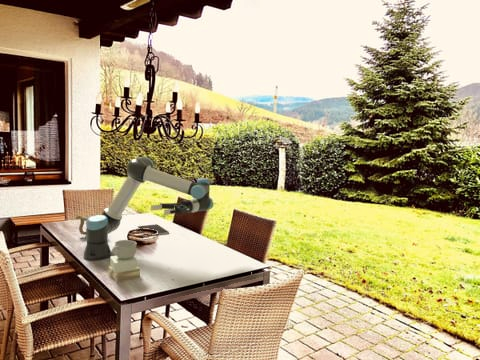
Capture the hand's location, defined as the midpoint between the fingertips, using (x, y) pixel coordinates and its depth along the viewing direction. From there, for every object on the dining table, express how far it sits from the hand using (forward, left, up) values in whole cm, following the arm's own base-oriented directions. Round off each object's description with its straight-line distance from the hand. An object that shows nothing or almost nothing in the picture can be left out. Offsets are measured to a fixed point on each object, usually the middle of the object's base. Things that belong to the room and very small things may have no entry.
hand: (157, 210), depth 211 cm
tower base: (+1, -20, -32) cm, 38 cm away
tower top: (+2, -21, -27) cm, 35 cm away
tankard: (-76, -7, -32) cm, 83 cm away
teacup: (+1, -21, -23) cm, 31 cm away
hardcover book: (-66, +36, -33) cm, 82 cm away
